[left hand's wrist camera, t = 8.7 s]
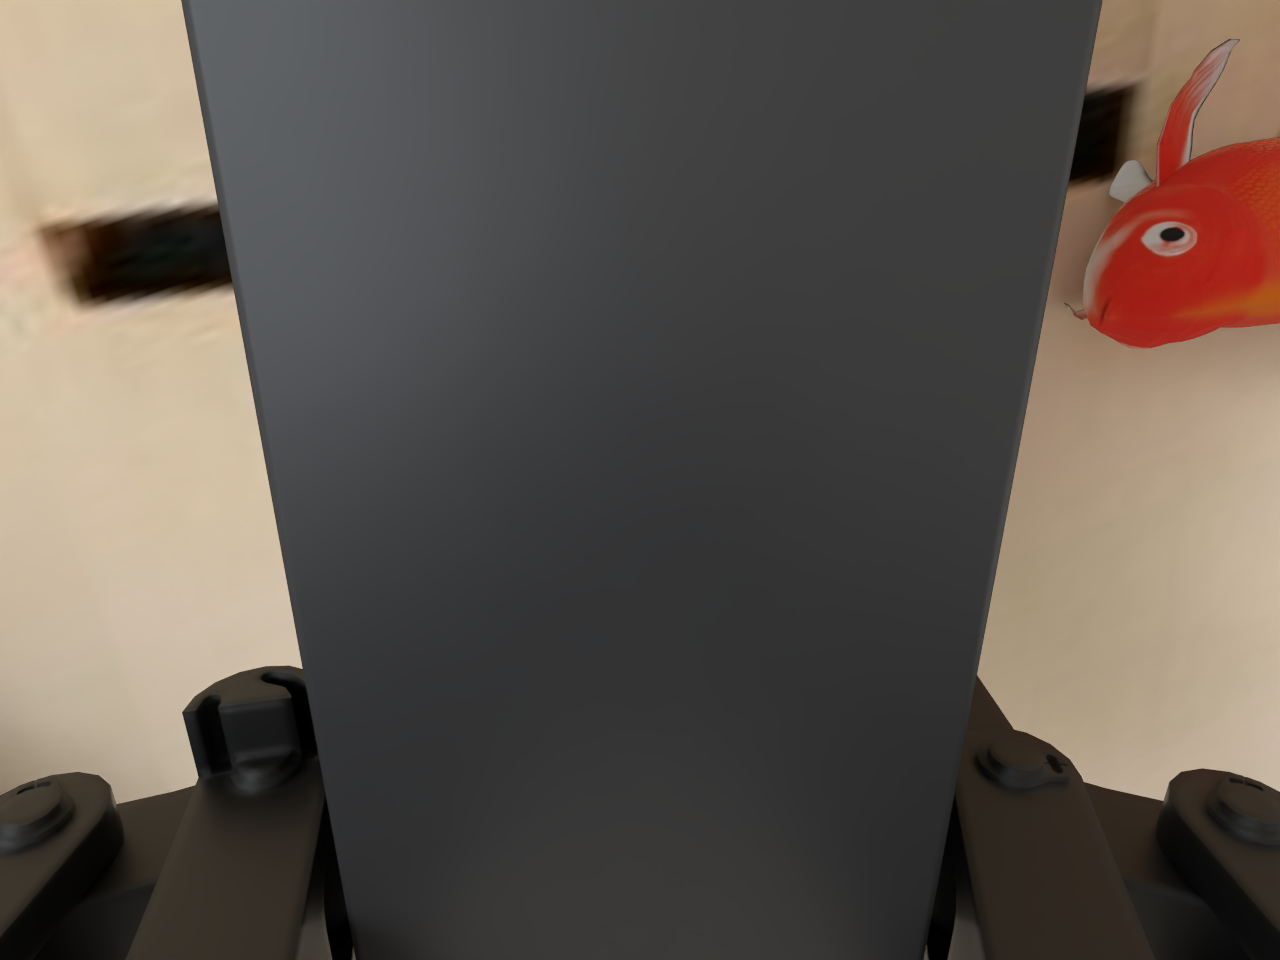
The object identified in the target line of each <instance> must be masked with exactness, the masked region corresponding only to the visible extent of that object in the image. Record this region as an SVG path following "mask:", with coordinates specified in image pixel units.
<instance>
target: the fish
mask: <svg viewBox="0 0 1280 960" xmlns="http://www.w3.org/2000/svg"><path fill="white" fill-rule="evenodd" d="M1238 41H1239V40H1238V39H1229V40H1227V41H1226V42H1224V43H1222V44H1221V45H1219V46H1218V47H1216V48H1214V49H1213V50H1211V52H1210V53H1209V54H1208V55H1207V56H1206V57H1205V59H1204V60H1203V61H1202V62H1201V63H1200V64H1199V66H1198V67H1197V68H1196V69H1195V71H1194V73H1193V75H1192V77H1191V78H1190V80H1189V81H1188V82H1187V83H1186V84H1185V85H1184V86H1183V88H1182V89H1181V90H1180V92H1179V93H1178V95H1177V96H1176V98H1175V99H1174V101H1173V103H1172V104H1171V106H1170V108H1169V111H1168V114H1167V117H1166V120H1165V123H1164V126H1163V129H1162V132H1161V135H1160V138H1159V141H1158V143H1157V166H1156V179H1155V180H1154V181H1152V180H1151V179H1150V177H1149V176H1148V175H1147V173H1146V171H1145V170H1144V168H1143V166H1142V164H1141V162H1139V161H1137V160H1131V161H1127V162H1126V163H1124V165H1123V166H1122V167H1121V169H1120V170H1119V172H1118V174H1117V175H1116V177H1115V179H1114V181H1113V183H1112V185H1111V186H1110V189H1109V195H1110V196H1111V197H1113V198H1115V199H1118V200H1120V201H1123V202H1124V204H1123V205H1122V206H1121V207H1120V208H1119V210H1118V211H1117V212H1116V214H1115V215H1114V216H1113V217H1112V218H1110V220H1109V222H1108V224H1107V226H1106V227H1105V229H1104V231H1103V233H1102V234H1101V236H1100V238H1099V240H1098V242H1097V244H1096V246H1095V248H1094V250H1093V252H1092V255H1091V257H1090V260H1089V263H1088V266H1087V268H1086V272H1085V278H1084V287H1083V302H1082V304H1083V307H1084V310H1081V311H1077V312H1075V311H1074V310H1073V309H1072V308H1071V307H1070V306H1069V305H1067V304H1065V305H1066V306H1067V308H1068V309H1069V310H1070V312H1071V313H1072V314H1074V316H1076V317H1078V318H1080V319H1081V320H1082V319H1085V318H1087V317H1088V320H1089V322H1090V324H1091V326H1093V327H1094V328H1096V329H1097V330H1098V331H1100V332H1101V333H1103V334H1105V335H1107V336H1109V337H1111V338H1113V339H1114V340H1116V341H1118V342H1119V343H1121V344H1122V345H1125V346H1127V347H1129V348H1135V349H1147V348H1152V347H1157V346H1160V345H1164V344H1167V343H1173V342H1181V341H1186V340H1190V339H1193V338H1196V337H1199V336H1202V335H1205V334H1207V333H1209V332H1212V331H1214V330H1216V329H1218V328H1220V327H1250V326H1258V325H1266V324H1277V323H1280V138H1271V139H1264V140H1257V141H1251V142H1244V143H1237V144H1232V145H1228V146H1225V147H1221V148H1218V149H1215V150H1212V151H1210V152H1208V153H1205V154H1203V155H1201V156H1199V157H1196V158H1194V159H1192V160H1190V156H1191V150H1192V136H1193V126H1194V120H1195V118H1196V116H1197V113H1198V111H1199V109H1200V107H1201V106H1202V104H1203V102H1204V101H1205V99H1206V98H1207V96H1208V95H1209V93H1210V91H1211V90H1212V88H1213V87H1214V85H1215V84H1216V82H1217V80H1218V79H1219V77H1220V75H1221V73H1222V71H1223V69H1224V67H1225V65H1226V62H1227V60H1228V57H1229V55H1230V52H1231V50H1232V48H1233V47H1234V46H1235V45H1236V44H1237V43H1238Z"/></svg>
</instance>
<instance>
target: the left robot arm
mask: <svg viewBox="0 0 1280 960" xmlns="http://www.w3.org/2000/svg"><path fill="white" fill-rule="evenodd" d="M182 714H183V717H184V721H185V725H186V729H187V733H188V737H189V741H190V745H191V749H192V753H193V756H194V760H195V764H196V768H197V772H198V776H199V778H198V781H197V783H196V785H195V786H192V787H188V788H185V789H181V790H178V791H175V792H170V793H166V794H161V795H157V796H152V797H148V798H143V799H139V800H134V801H130V802H125V803H121V804H116V802H115V799H114V795H113V792H112V789H111V786H110V785H109V784H108V783H107V782H106V781H105V780H104V779H102V778H101V777H100V776H99V775H93V774H87V773H81V772H75V773H67V774H59V775H51V776H48V777H45V778H41V779H37V780H35V781H31V782H28V783H26V784H23V785H20V786H18V787H16V788H14V789H12V790H10V791H8V792H6V793H5V794H3V795H1V796H0V960H356V958H355V953H354V947H353V942H352V936H351V931H350V925H349V920H348V914H347V909H346V903H345V898H344V892H343V887H342V881H341V876H340V870H339V865H338V859H337V854H336V848H335V843H334V837H333V832H332V826H331V821H330V815H329V810H328V804H327V799H326V793H325V788H324V782H323V777H322V771H321V766H320V760H319V755H318V749H317V744H316V738H315V733H314V727H313V722H312V716H311V711H310V705H309V700H308V694H307V689H306V683H305V678H304V672H303V669H300V668H296V667H292V666H265V667H261V668H257V669H252V670H248V671H243V672H239V673H237V674H234V675H232V676H230V677H227V678H225V679H223V680H220V681H218V682H216V683H214V684H212V685H211V686H210V687H208V688H207V689H205V690H204V691H202V692H201V693H199V694H198V695H196V696H195V697H194V698H193V700H192V701H191V702H190V703H189V705H188V706H187V707H186V708H185V710H184V711H183V712H182ZM924 960H1280V792H1279V791H1277V790H1275V789H1273V788H1271V787H1269V786H1267V785H1265V784H1263V783H1261V782H1259V781H1256V780H1253V779H1251V778H1248V777H1243V776H1241V775H1237V774H1234V773H1231V772H1225V771H1217V770H1209V769H1197V770H1190V771H1184V772H1181V773H1179V774H1178V775H1177V776H1176V777H1175V778H1174V779H1172V780H1171V781H1170V782H1169V785H1168V789H1167V792H1166V795H1165V798H1164V801H1160V800H1156V799H1151V798H1147V797H1142V796H1138V795H1133V794H1129V793H1124V792H1120V791H1115V790H1111V789H1106V788H1103V787H1099V786H1096V785H1092V784H1089V783H1085V782H1083V779H1082V777H1081V775H1080V774H1079V772H1078V771H1077V769H1076V768H1075V767H1074V765H1073V764H1072V762H1071V761H1070V759H1068V758H1067V757H1066V756H1065V755H1063V754H1062V753H1061V752H1060V751H1058V750H1057V749H1056V748H1054V747H1053V746H1052V745H1051V744H1049V743H1047V742H1045V741H1042V740H1040V739H1038V738H1036V737H1034V736H1032V735H1030V734H1028V733H1025V732H1021V731H1017V730H1014V729H1013V727H1012V726H1011V724H1010V723H1009V722H1008V720H1007V719H1006V717H1005V716H1004V714H1003V713H1002V711H1001V710H1000V708H999V707H998V705H997V704H996V702H995V701H994V700H993V698H992V697H991V695H990V694H989V692H988V691H987V689H986V688H985V686H984V685H983V683H982V682H981V680H980V679H979V678H978V676H976V681H975V687H974V692H973V698H972V703H971V708H970V714H969V719H968V724H967V730H966V735H965V740H964V746H963V751H962V757H961V762H960V767H959V773H958V778H957V783H956V789H955V794H954V800H953V805H952V810H951V816H950V821H949V826H948V832H947V837H946V842H945V848H944V853H943V859H942V864H941V869H940V875H939V880H938V885H937V891H936V896H935V902H934V907H933V912H932V918H931V923H930V928H929V934H928V939H927V944H926V950H925V955H924Z"/></svg>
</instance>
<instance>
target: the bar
mask: <svg viewBox="0 0 1280 960" xmlns="http://www.w3.org/2000/svg"><path fill="white" fill-rule="evenodd" d="M181 1H182V7H183V12H184V18H185V23H186V29H187V34H188V40H189V45H190V51H191V56H192V62H193V67H194V73H195V78H196V84H197V89H198V95H199V100H200V106H201V111H202V117H203V122H204V128H205V133H206V139H207V144H208V150H209V155H210V161H211V166H212V172H213V177H214V183H215V188H216V194H217V199H218V205H219V210H220V216H221V221H222V227H223V232H224V238H225V243H226V249H227V254H228V260H229V265H230V271H231V276H232V282H233V287H234V293H235V298H236V304H237V309H238V315H239V320H240V326H241V331H242V337H243V342H244V348H245V353H246V359H247V364H248V370H249V375H250V381H251V386H252V392H253V397H254V403H255V408H256V414H257V419H258V425H259V430H260V436H261V441H262V447H263V452H264V458H265V463H266V469H267V474H268V480H269V485H270V491H271V496H272V502H273V507H274V513H275V518H276V524H277V529H278V535H279V540H280V546H281V551H282V557H283V562H284V568H285V573H286V579H287V584H288V590H289V595H290V601H291V606H292V612H293V617H294V623H295V628H296V634H297V639H298V645H299V650H300V656H301V661H302V667H303V672H304V678H305V683H306V689H307V694H308V700H309V705H310V711H311V716H312V722H313V727H314V733H315V738H316V744H317V749H318V755H319V760H320V766H321V771H322V777H323V782H324V788H325V793H326V799H327V804H328V810H329V815H330V821H331V826H332V832H333V837H334V843H335V848H336V854H337V859H338V865H339V870H340V876H341V881H342V887H343V892H344V898H345V903H346V909H347V914H348V920H349V925H350V931H351V936H352V942H353V947H354V953H355V958H356V960H924V955H925V950H926V944H927V939H928V934H929V928H930V923H931V918H932V912H933V907H934V902H935V896H936V891H937V885H938V880H939V875H940V869H941V864H942V859H943V853H944V848H945V842H946V837H947V832H948V826H949V821H950V816H951V810H952V805H953V800H954V794H955V789H956V783H957V778H958V773H959V767H960V762H961V757H962V751H963V746H964V740H965V735H966V730H967V724H968V719H969V714H970V708H971V703H972V698H973V692H974V687H975V681H976V676H977V671H978V665H979V660H980V655H981V649H982V644H983V638H984V633H985V628H986V622H987V617H988V612H989V606H990V601H991V596H992V590H993V585H994V579H995V574H996V569H997V563H998V558H999V553H1000V547H1001V542H1002V537H1003V531H1004V526H1005V520H1006V515H1007V510H1008V504H1009V499H1010V494H1011V488H1012V483H1013V477H1014V472H1015V467H1016V461H1017V456H1018V451H1019V445H1020V440H1021V435H1022V429H1023V424H1024V418H1025V413H1026V408H1027V402H1028V397H1029V392H1030V386H1031V381H1032V375H1033V370H1034V365H1035V359H1036V354H1037V349H1038V343H1039V338H1040V333H1041V327H1042V322H1043V316H1044V311H1045V306H1046V300H1047V295H1048V290H1049V284H1050V279H1051V273H1052V268H1053V263H1054V257H1055V252H1056V247H1057V241H1058V236H1059V231H1060V225H1061V220H1062V214H1063V209H1064V204H1065V198H1066V193H1067V188H1068V182H1069V177H1070V172H1071V166H1072V161H1073V155H1074V150H1075V145H1076V139H1077V134H1078V129H1079V123H1080V118H1081V112H1082V107H1083V102H1084V96H1085V91H1086V86H1087V80H1088V75H1089V70H1090V64H1091V59H1092V53H1093V48H1094V43H1095V37H1096V32H1097V27H1098V21H1099V16H1100V10H1101V5H1102V0H181Z"/></svg>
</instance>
